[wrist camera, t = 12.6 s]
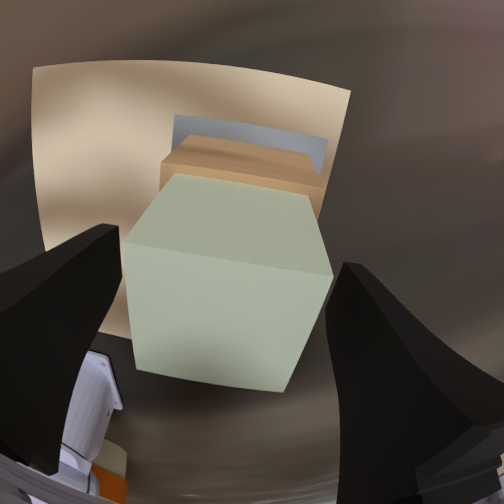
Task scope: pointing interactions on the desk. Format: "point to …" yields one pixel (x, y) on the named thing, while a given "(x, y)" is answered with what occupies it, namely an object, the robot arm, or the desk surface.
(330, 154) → the baseplate
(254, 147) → the oak block
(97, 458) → the reusable coffee cup
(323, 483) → the desk surface
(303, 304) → the sage block
